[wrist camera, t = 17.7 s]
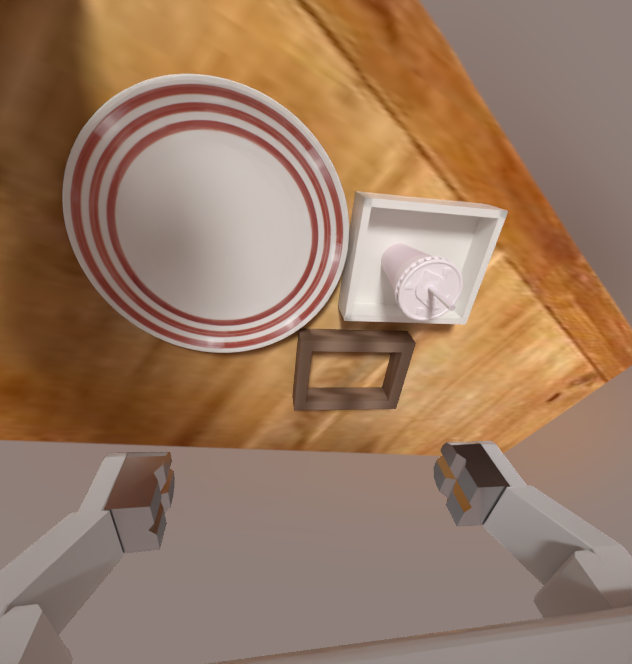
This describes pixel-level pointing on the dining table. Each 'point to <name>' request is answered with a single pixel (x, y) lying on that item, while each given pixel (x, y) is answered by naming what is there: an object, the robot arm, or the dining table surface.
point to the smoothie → (422, 282)
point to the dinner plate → (205, 213)
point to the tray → (419, 233)
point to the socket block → (351, 342)
